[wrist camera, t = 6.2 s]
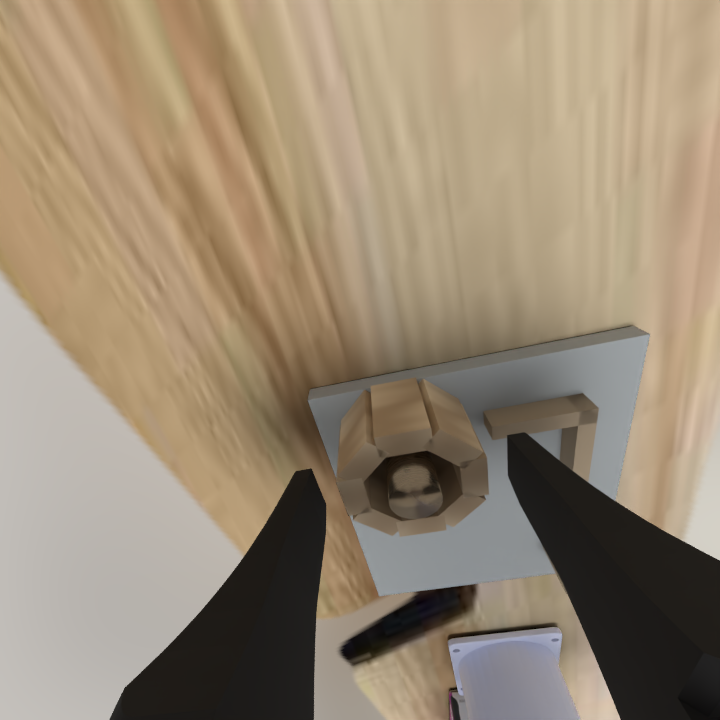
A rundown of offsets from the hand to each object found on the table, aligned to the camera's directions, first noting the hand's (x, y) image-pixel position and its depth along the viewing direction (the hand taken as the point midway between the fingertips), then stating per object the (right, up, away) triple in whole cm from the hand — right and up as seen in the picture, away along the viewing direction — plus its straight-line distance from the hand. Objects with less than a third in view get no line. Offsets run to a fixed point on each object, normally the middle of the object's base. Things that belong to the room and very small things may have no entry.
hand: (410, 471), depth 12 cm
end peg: (0, +1, +2) cm, 2 cm away
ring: (0, +1, +2) cm, 2 cm away
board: (+4, -2, +5) cm, 7 cm away
